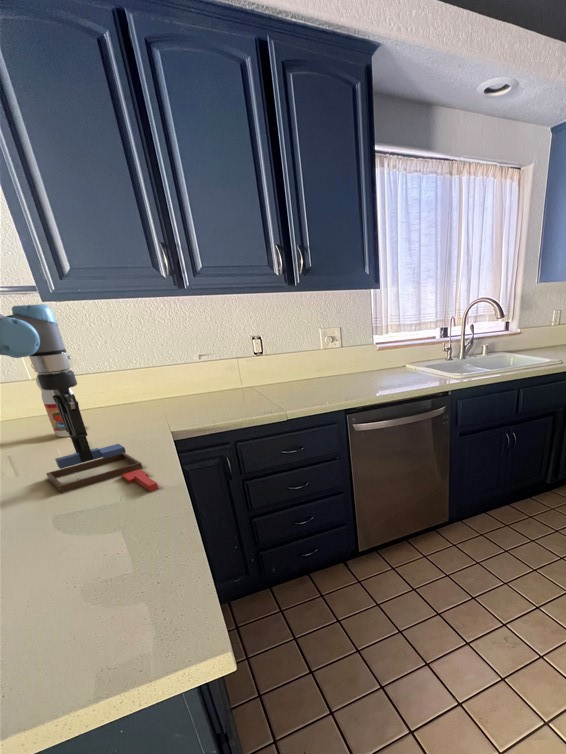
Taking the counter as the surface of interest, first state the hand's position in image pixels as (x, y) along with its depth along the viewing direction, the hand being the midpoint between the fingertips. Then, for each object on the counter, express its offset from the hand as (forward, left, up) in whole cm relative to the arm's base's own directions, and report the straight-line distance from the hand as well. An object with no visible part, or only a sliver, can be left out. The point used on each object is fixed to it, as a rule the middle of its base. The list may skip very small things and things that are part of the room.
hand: (86, 459), depth 116 cm
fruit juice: (-37, +39, -6) cm, 54 cm away
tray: (+1, +1, -5) cm, 6 cm away
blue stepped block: (+1, +1, 0) cm, 1 cm away
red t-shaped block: (+18, -5, -5) cm, 19 cm away
